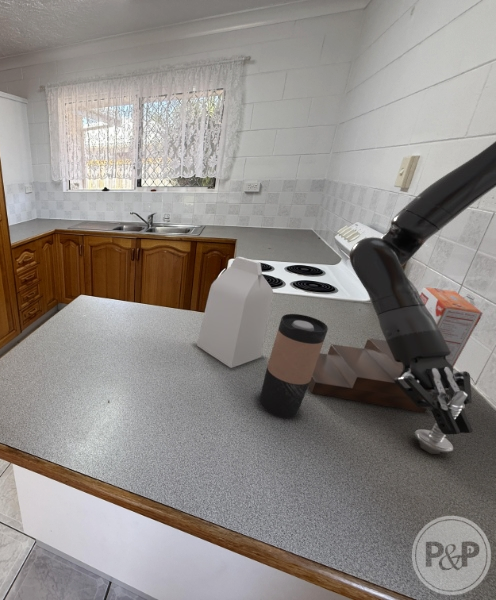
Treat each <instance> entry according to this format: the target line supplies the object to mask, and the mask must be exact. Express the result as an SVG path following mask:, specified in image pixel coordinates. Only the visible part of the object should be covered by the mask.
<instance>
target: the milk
mask: <svg viewBox="0 0 496 600" xmlns="http://www.w3.org/2000/svg"><path fill="white" fill-rule="evenodd" d="M273 298H274V290H273V288H272V286H271V285H270V283H269V282H268V281H267V279H266V278H265V276H264V275H263V271H262V264H261V262H260V261H258V260H255V259H254V260H253V259H250V258H246V257H243V256H236V257H235V258H234V260H233V261H232V262H231V264H230V266H229V267H228V268H226V269H225V271H223V272H222V273H221V274H220V275H219V276H218V277H216V279H214V280H213V282H212V283H211V285H210V288H209V292H208V296H207V300H206V305H205V309H204V313H203V317H202V322H201V325H200V330H199V334H198V339H197V343H196V346H197V347H198V348H199V349H201V350H203V351H204V352H206V353H207V354H209V355H210V356H212V357H213V358H215V359H216V360H218V361H220V362H221V363H222V364H224V365H225V366H227V367H229V368H230V369H232V368H236V367H238V366H240V365H244V364H246V363H249V362H251V361H254V360H257V359H260V358H262V355H263V349H264V345H265V341H266V340H265V339H266V335H267V330H268V324H269V319H270V314H271V309H272V303H273Z"/></svg>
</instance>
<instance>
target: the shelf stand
mask: <svg viewBox="0 0 496 600" xmlns="http://www.w3.org/2000/svg"><path fill="white" fill-rule="evenodd" d="M403 374H404V372H403V364H402V362H397V361H395V359H394V357H393V355H392V353H391V350H390V348H389V346H388V343H387V341H386V339H377V338H370V337H369V338H367V340H366V342H365V344H364V347H363V348H361V347H353V346H347V345H340V344H334V343H333V344H332V343H330V346H329V349H328V352H327V353H321V352H320V354H319V357H318V360H317V363H316V366H315V369H314V372H313V375H312V378H311V380H310V383H309V386H308V389H309V390H310V392H311V394H315V395H322V396H327V397H334V398H338V399H343V400H350V401H355V402H360V403H367V404H372V405H379V406H384V407H391V408H396V409H403V410H407V411H414V412H418V413H424V414H425V413H426V412H427V410H428V409H426V408H419V407H417V406H416V404H415V403H414V402H413V401H412V400H411V399H410V398H409V397H408V396H407V395H406V394H405V393H404V392H403V391H402V389H401V388H400V387H399V386H398V385H397V384H396V383H395V382H394V379H395V378H398V377H401V376H402V375H403ZM426 391H427V392H431V390H426ZM418 397H419V398H420V399H421V400H423V398H422V397H420V396H418ZM432 398H433V399H435V397H434V396H432Z"/></svg>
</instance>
